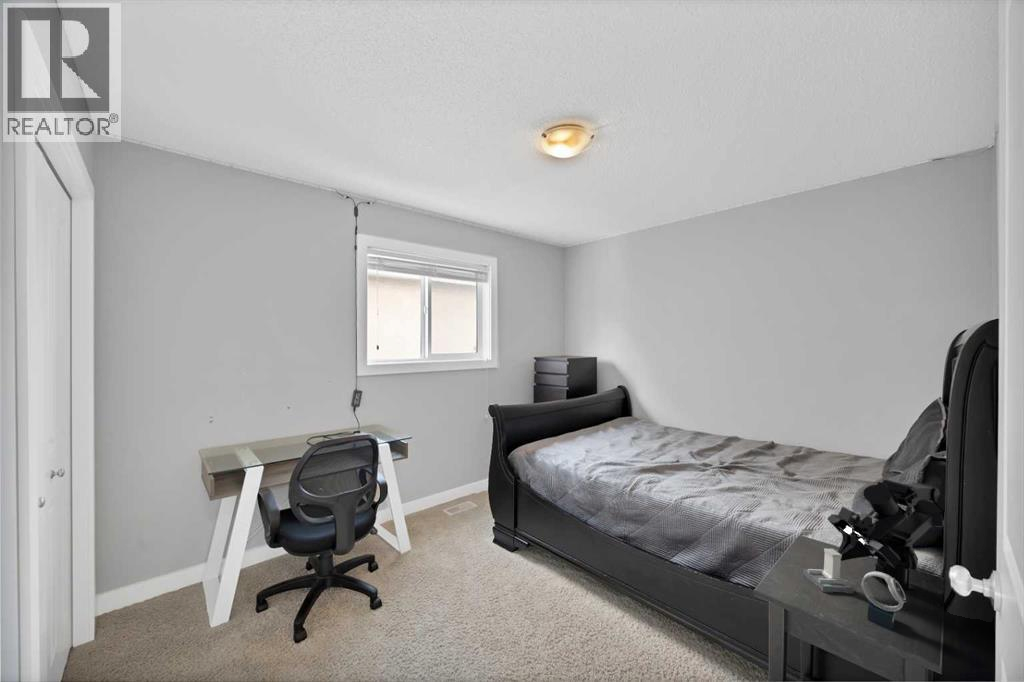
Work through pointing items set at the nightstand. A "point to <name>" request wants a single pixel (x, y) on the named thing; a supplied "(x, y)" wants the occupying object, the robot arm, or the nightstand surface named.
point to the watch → (879, 609)
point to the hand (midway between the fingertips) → (837, 559)
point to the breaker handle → (832, 564)
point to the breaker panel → (827, 582)
